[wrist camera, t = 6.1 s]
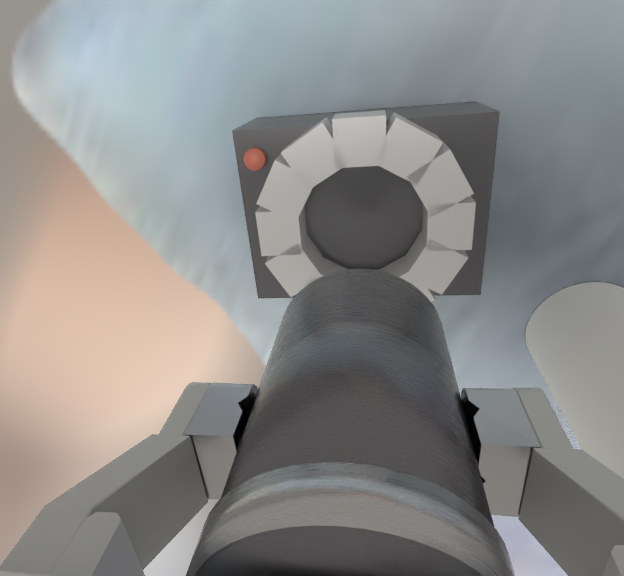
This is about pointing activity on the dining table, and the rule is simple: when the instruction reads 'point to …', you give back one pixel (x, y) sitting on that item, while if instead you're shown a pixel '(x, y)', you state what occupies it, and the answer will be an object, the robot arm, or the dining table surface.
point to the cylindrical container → (585, 364)
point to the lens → (355, 448)
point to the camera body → (369, 195)
